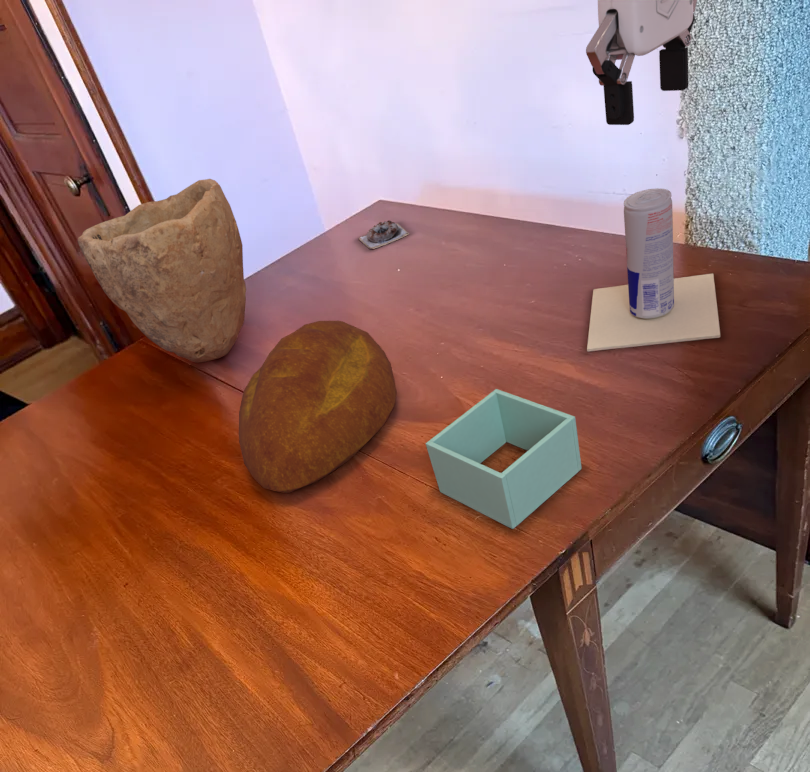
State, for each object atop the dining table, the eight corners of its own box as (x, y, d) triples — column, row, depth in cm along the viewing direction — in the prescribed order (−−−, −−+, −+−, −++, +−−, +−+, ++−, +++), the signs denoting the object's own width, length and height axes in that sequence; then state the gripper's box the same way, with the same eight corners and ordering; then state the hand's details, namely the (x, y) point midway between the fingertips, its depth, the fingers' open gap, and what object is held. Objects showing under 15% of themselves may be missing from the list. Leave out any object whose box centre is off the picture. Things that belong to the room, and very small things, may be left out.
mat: (713, 275, 102) (713, 273, 102) (720, 337, 92) (720, 334, 91) (593, 291, 108) (593, 289, 108) (587, 351, 97) (586, 349, 97)
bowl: (259, 306, 135) (199, 163, 118) (299, 350, 119) (236, 190, 102) (144, 359, 131) (65, 219, 115) (169, 412, 115) (81, 257, 98)
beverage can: (679, 300, 99) (678, 185, 89) (666, 322, 96) (663, 206, 87) (638, 298, 102) (632, 187, 92) (623, 320, 99) (616, 208, 90)
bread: (208, 505, 94) (161, 426, 86) (301, 361, 116) (271, 287, 108) (358, 504, 87) (323, 417, 78) (428, 350, 108) (407, 269, 100)
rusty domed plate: (369, 251, 140) (366, 240, 139) (358, 239, 146) (355, 228, 145) (410, 234, 141) (407, 224, 139) (397, 223, 147) (395, 213, 145)
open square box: (506, 438, 88) (496, 388, 84) (582, 468, 81) (575, 416, 76) (439, 492, 84) (425, 443, 80) (512, 529, 77) (501, 478, 72)
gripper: (615, -70, 65) (627, 138, 76) (727, -124, 71) (724, 76, 83) (549, -57, 70) (570, 137, 81) (659, -108, 76) (665, 78, 88)
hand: (647, 106), depth 82 cm, fingers open, 9 cm apart
